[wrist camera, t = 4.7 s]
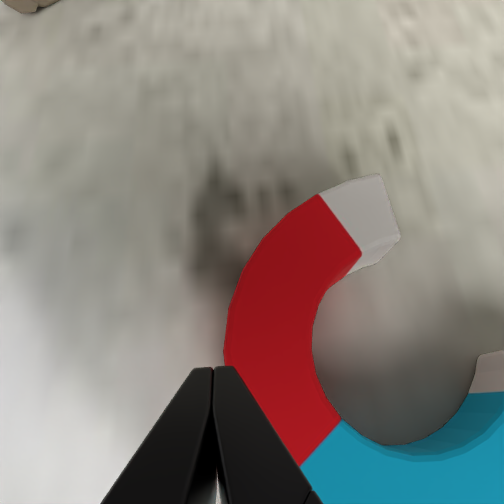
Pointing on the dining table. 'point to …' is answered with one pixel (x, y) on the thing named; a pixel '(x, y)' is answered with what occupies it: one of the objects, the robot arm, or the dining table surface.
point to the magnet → (306, 381)
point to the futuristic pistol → (28, 4)
